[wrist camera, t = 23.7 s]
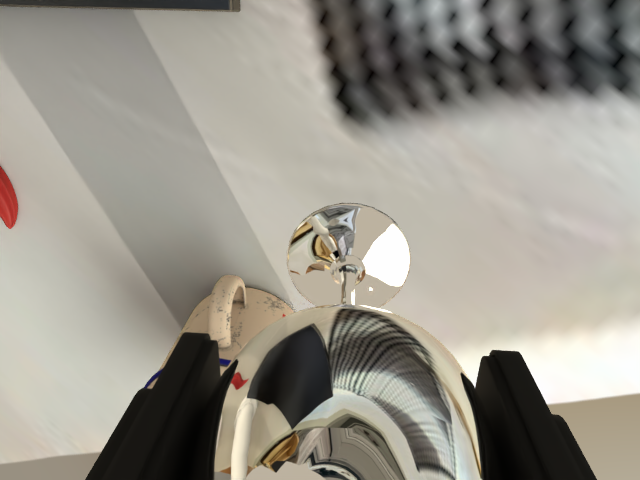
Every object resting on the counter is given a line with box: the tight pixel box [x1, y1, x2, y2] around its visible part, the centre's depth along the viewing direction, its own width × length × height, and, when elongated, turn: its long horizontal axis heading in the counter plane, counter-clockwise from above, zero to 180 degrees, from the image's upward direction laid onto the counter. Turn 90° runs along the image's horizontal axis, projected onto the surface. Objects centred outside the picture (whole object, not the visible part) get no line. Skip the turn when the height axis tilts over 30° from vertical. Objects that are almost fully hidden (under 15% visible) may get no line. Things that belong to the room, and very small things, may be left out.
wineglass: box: [185, 203, 506, 480], centre depth 12 cm, size 6×6×12 cm
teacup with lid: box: [144, 275, 294, 389], centre depth 29 cm, size 12×9×12 cm
